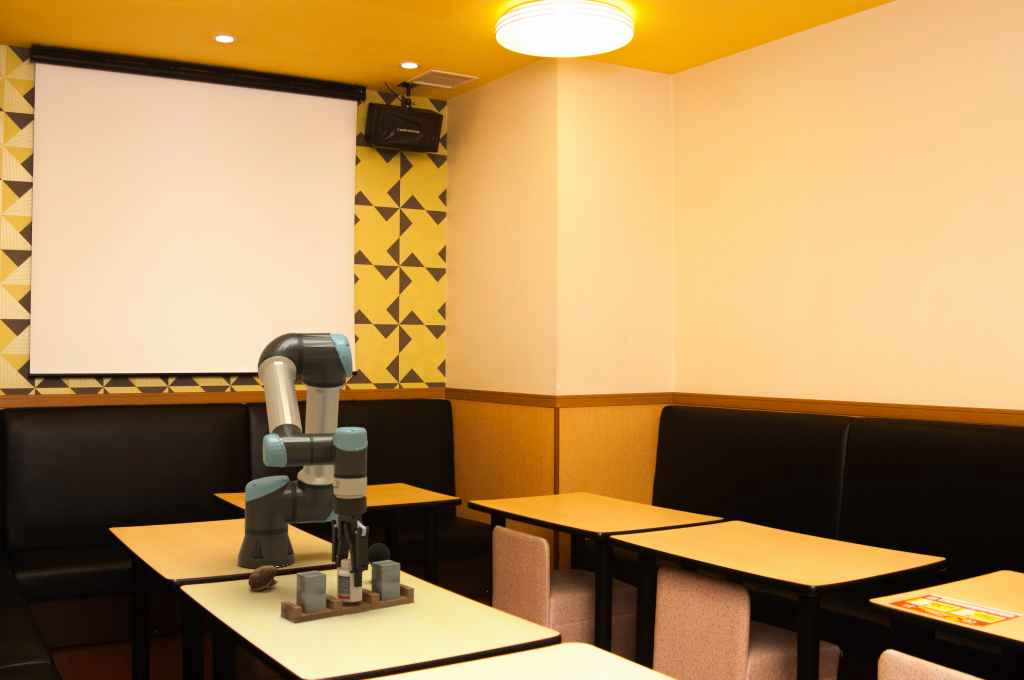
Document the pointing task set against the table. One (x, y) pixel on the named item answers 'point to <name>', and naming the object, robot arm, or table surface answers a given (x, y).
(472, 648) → the table surface
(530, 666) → the table surface
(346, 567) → the pill bottle
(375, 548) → the black round piece
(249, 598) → the table surface
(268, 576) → the mushroom
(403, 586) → the rail
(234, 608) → the table surface
